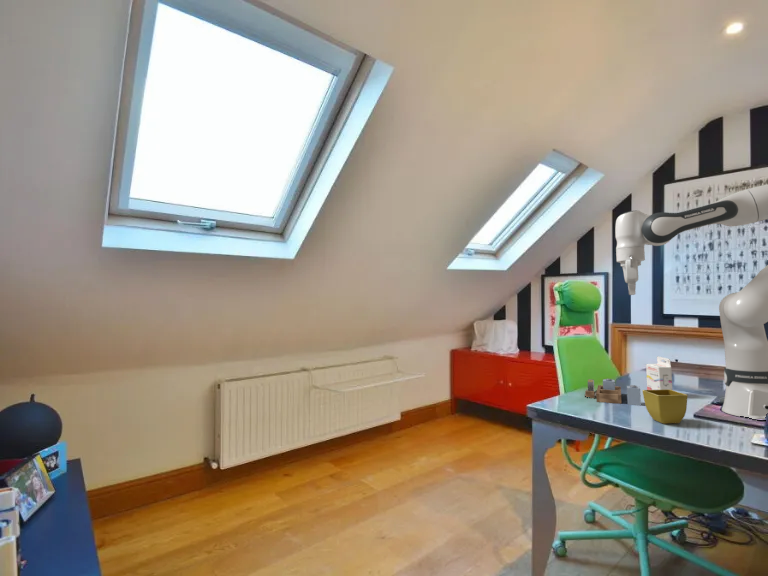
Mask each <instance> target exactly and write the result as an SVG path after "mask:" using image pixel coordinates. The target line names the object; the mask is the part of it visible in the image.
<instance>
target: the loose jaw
mask: <svg viewBox="0 0 768 576" xmlns="http://www.w3.org/2000/svg"><path fill="white" fill-rule="evenodd" d="M626 395H627V397H626V398H627V399H626V400H627V405H628V406H638V407H639V406H640V407H641V406H642V401H641V395H642V394H641V387H640V386H637V385H633V384H631V385H626Z"/></svg>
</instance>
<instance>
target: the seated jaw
mask: <svg viewBox="0 0 768 576" xmlns="http://www.w3.org/2000/svg"><path fill="white" fill-rule="evenodd" d="M615 382H616V381H615V379H612V378H605V379H602V386H603V389H605V390H615V386H616V383H615Z"/></svg>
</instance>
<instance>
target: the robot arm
mask: <svg viewBox="0 0 768 576" xmlns="http://www.w3.org/2000/svg"><path fill="white" fill-rule="evenodd" d="M765 220H768V184H764V185H758V186H753V187H750V188H746V189H742V190H740V191H737V192H734V193H731V194H729V195H727V196H724V197H723V198H721V199H720V198H719V199H718V200H716V201H714V202H712V203H710V204H706V205H702V206H699V207H698V206H697V207H694V208H690V209H687V210H684V211H679V212H668V211H667V212H665V211H664V212H662V211H661V212H654V213H652V214H650V215H649V214H646V213H644V212H642V211H640V210H638V209H637V210H629V211H625V212H622V213H621V214H620V215H619V216H618V217H617V218H616V220H615V226H614V227H615V232H614V233H615V236H614V237H615V240H616V247H615V252H616V253H615V255H616V263H620V267H622V271H623V278H624V282H625V283H626V284H627V287H628V288H627V289H628V295H629V296H634V295H636V294H637V292H636V285H637V282H638V281H639V266H641V265H642V262H643V261H646V259H645V257H646V256H645V246H646V245H647V246H648V245H649V246H655V247H660V246H664V245H666V244H668V243H670V241H672V239H673V238H675V237H676V236H677V235H679V234H681V233H683V232H686V231H691V230H694V229H698V228H701V227H706V226H709V225H711V226H712V225H723V226H727V227H738V226H745V225H746V226H747V225H750V224H755V223H758V222H762V221H765ZM718 311H719V319H720V326H721V332H722V338H723V343H724V357H725V358H724V359H725V360H724V361H725V367H724V368H723V369H724V370H723V378H724V385H725V392H724V393H725V394H724V400H723V404H722V408H721V411H722V412H723V413H726V414H728V415H732V416H736V417H740V416H744V417H743V418H745V417H749V418H752V419H763V420H764V419H765V417H766V414H767V413H768V338H767V334H766V333H767V332H766V329H765V325H764V324H766V323H768V264H767V265H766V266H765V267H763V268H762V269H761V270H759V272H757V274H756V275H755V276H754V277H753V278H752V279H751V280H750V281H749V282H748V283H747V284H746V285H745V286H744V287H743V288H741V290H739V291H738V292H737V291H735V292H732V293H730V294H727V295H726V296H724V297H723V298H722V299H721V300H720V303H719V305H718ZM749 418H748V419H749ZM752 419H751V420H752Z"/></svg>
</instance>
